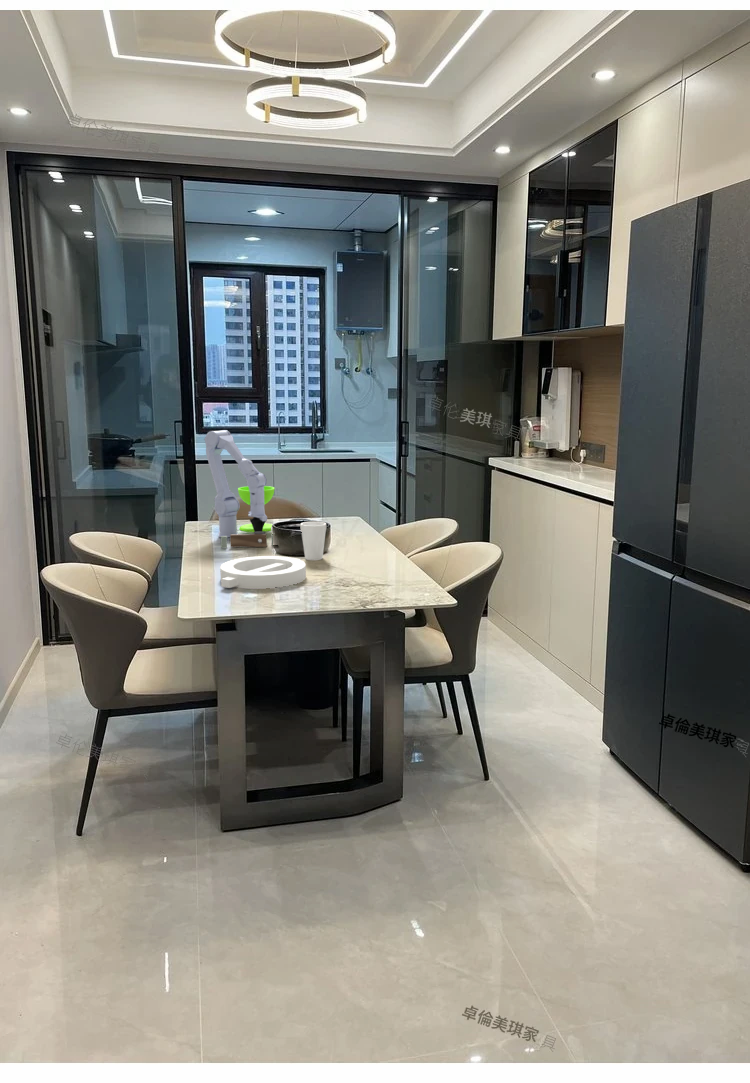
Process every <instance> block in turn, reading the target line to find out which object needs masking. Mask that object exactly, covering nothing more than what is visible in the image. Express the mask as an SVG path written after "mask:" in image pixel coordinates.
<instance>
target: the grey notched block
mask: <svg viewBox="0 0 750 1083" xmlns="http://www.w3.org/2000/svg"><path fill="white" fill-rule="evenodd" d="M253 533H254V534H266V533H265V531H255V532H253Z"/></svg>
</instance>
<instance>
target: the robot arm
mask: <svg viewBox="0 0 750 1083" xmlns="http://www.w3.org/2000/svg"><path fill="white" fill-rule="evenodd" d="M203 440H204V443H205V455H206V457H207V458H206V459H207V461H208V466H209V469H210V473H211V476H212V480H213V484H214V487H215V492H216V495H215V497H214V499H213V501H214V511H215V512H216V514H217V516H218V525H219V526H218V529H219V532H218V538H221V536H227V538H230V535H231V534H239V533H238V530H237V529H238V528H237V527H238V526H237V514H238V511H239V510H240V507H241V506H240V501H239V500H238V498H237V497H236V494H235V493H234V492H232V491H231V489H230V485H229V482H228V481H229V480H228V478H227V474H226V471H225V468H224V464H223V460H222V457H221V454H222V451H223V450H225V451H227V452H228V454H229V455H230V456H231V457H232V458H233V459H234V460H235V462H236V463H237V469H238V470H239V472H240V473H241V474H242V475H243V477H244V478H245V479H246V481H245V482H246V485H247V486H248V487H249V491H250V505H249V506H250V510H249V511H248V514H247V517H251V518H250V519H249V522H250V524H252V526H253V529H254V532H255V531H262V530H263V526H264V524H266V522H267V521H268V516H267V515H266V512H265V505H264V486H267V476H266V475H265V474H264V473H262V472H260V471H259V470H258V469H257V468H256V466H254V464H253V461H252V460H250V459H249V458H245V457H244V455H243V453H242V452H241V450H240V449H239V447H238V445H237V444H236V443H235V441H234V436H233V435H232V434H231V432H230V431H228V430H227V429H222V430H209V431H208V432H207V433H206V435H205V436H204V439H203ZM254 532H253V533H254Z"/></svg>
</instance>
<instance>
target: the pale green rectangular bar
mask: <svg viewBox="0 0 750 1083" xmlns="http://www.w3.org/2000/svg"><path fill="white" fill-rule="evenodd" d="M272 534H273V533H271V535H270V536H271V537H270V538H271V546H272V547H274V546H273V535H272ZM220 544H221V545H220V547H221V549H227V548H228V537H227V536H221V537H220Z"/></svg>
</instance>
